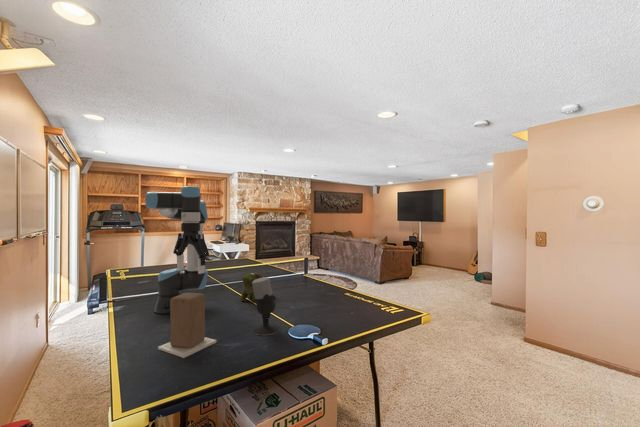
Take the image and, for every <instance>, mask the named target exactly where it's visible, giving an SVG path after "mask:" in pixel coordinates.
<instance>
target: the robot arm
mask: <svg viewBox="0 0 640 427" xmlns="http://www.w3.org/2000/svg"><path fill="white" fill-rule="evenodd" d="M144 202H145V207H146V208H147V209H150V210H151V209H152V210H158V213H159V214H160V215H161V216H163V217H165V218H167V219H170V220H175V221H181V222H182V223H181V224H180V232H179V233H177V239H176V241H175V245H174V249H173V252H172V253H173V254H175V255H176V264H177V267H176V268H171V269H166V270H163V271H160V272H159V273H158V276H157V277H158V280H157V282H158V283H157V286H158V287H157V294H158V295H157V296H158V297H157V299H156V300H157V301H156V303H155V305H154V312H156V314H159V315H160V314H166V315H167V314H170V303H171V298H173V297H176V296H178V295H181V292H182V291H183V292H184V291H196V290H197V291H198V290H204V289H205V288H206V286H207V282H208V275H209V273H208V272H209V270H208V269H207V268H206V258H207V257H210V252H209V250H208V246H207V243H206V240H205V234H204V233H203V232H204V230H203V227H204V225H205V224H206V221H208V219H209V218H208V209H207V208H208V207H207V203H206V201H205V200H202V199H201V188H200V187H199V186H194V185H192V186H191V185H184V186H182V187H181V191H179V192H176V191H175V192H172V191H171V192H169V191H147V192H146V194H145V201H144ZM185 250H186V266H185V261H184V260H185V256H184V254H185V253H184V252H185Z"/></svg>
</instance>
